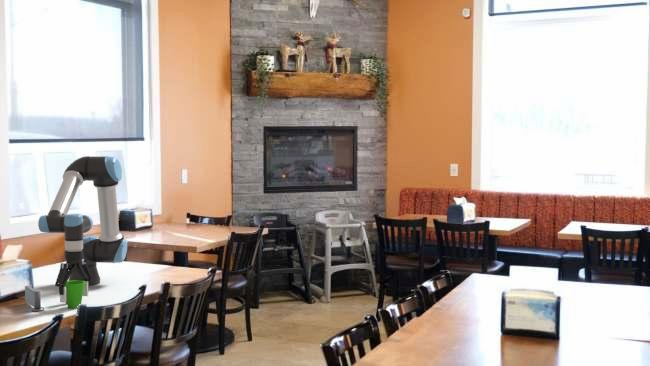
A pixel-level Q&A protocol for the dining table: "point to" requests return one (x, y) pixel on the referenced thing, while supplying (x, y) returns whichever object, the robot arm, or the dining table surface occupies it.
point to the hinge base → (37, 310)
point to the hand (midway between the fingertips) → (74, 299)
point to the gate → (33, 297)
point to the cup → (74, 293)
